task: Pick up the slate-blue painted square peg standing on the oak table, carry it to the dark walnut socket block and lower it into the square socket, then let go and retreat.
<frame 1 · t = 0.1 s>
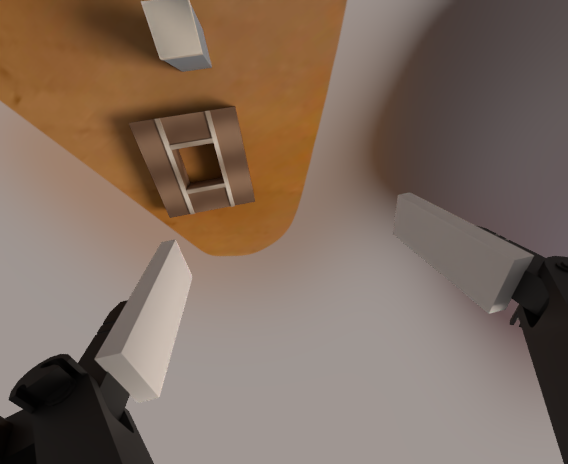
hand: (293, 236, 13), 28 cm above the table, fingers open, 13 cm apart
socket block: (202, 162, 37), on the table
peg: (192, 51, 30), on the table
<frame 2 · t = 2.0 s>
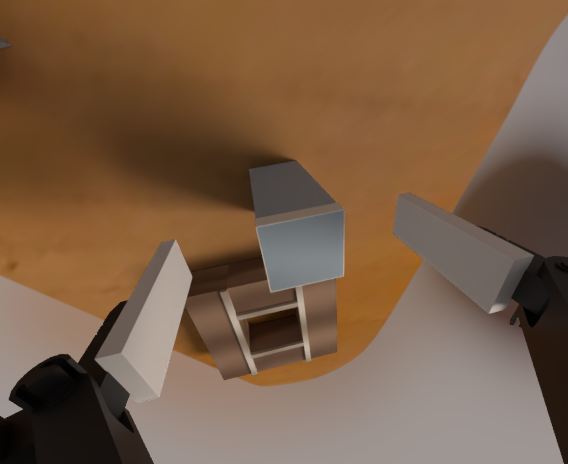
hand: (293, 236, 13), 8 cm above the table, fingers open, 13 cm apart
socket block: (269, 304, 27), on the table
peg: (276, 187, 20), on the table
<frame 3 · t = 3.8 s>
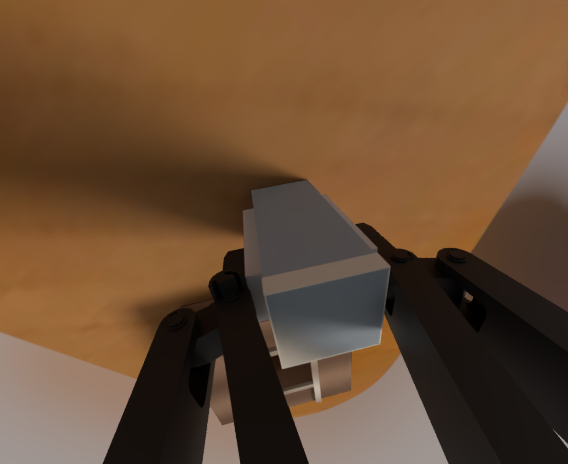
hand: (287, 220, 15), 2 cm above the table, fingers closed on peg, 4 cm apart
socket block: (273, 337, 23), on the table
peg: (283, 210, 17), on the table, touching gripper
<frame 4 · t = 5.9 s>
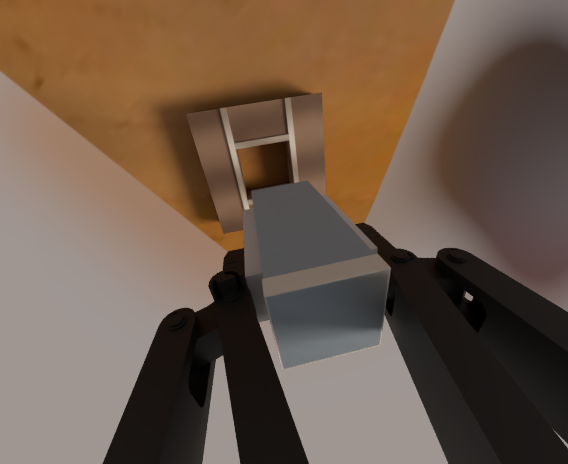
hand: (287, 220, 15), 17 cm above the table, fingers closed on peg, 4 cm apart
socket block: (264, 164, 29), on the table
peg: (283, 211, 17), point 15 cm above the table, touching gripper
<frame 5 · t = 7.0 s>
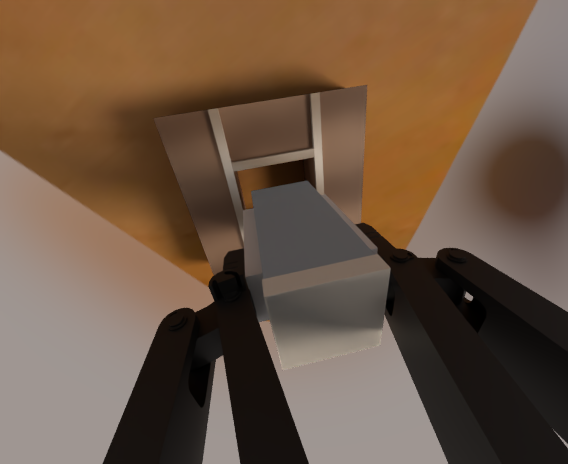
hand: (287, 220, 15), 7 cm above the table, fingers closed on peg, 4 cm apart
socket block: (274, 187, 21), on the table
peg: (283, 211, 17), point 5 cm above the table, touching gripper
when the fingers open (4 cm above the table, at t = 8.1 s): peg drops 2 cm, resting in socket block.
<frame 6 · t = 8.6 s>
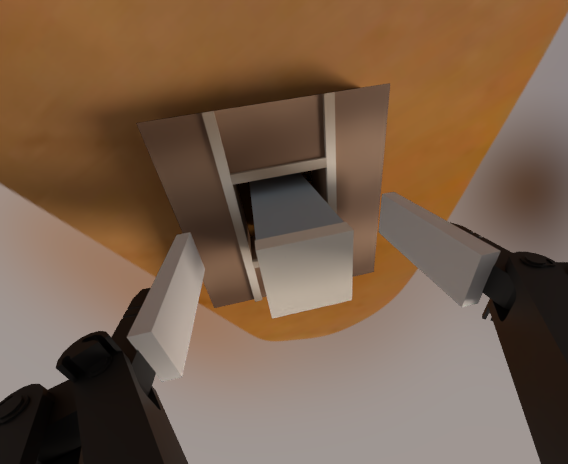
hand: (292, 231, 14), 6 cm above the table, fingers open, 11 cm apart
socket block: (278, 199, 19), on the table
peg: (277, 199, 19), resting in socket block
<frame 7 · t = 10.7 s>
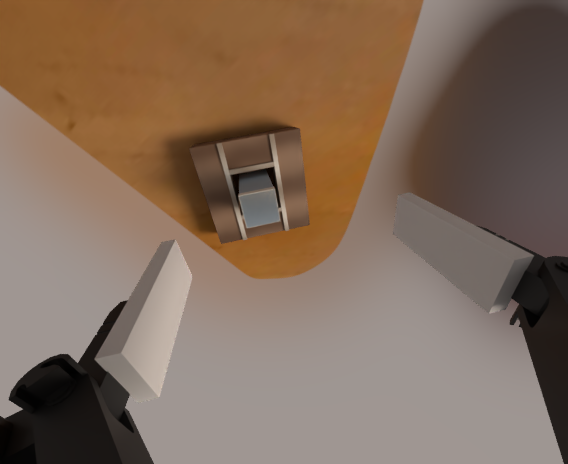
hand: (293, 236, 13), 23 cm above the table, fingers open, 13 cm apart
socket block: (255, 184, 35), on the table
peg: (255, 184, 35), resting in socket block
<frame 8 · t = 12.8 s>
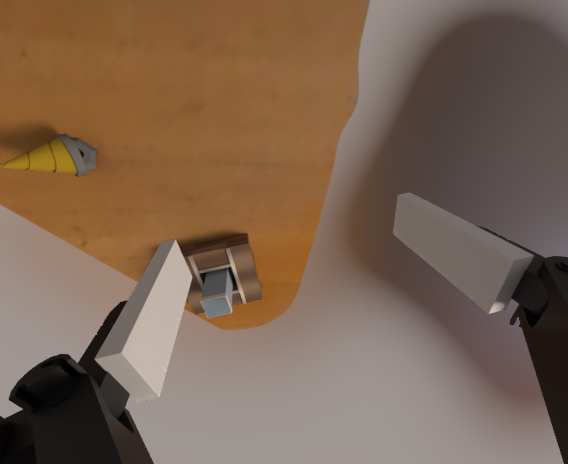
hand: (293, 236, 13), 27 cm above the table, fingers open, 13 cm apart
socket block: (221, 269, 46), on the table
peg: (220, 269, 46), resting in socket block
drill bit: (76, 156, 32), on the table
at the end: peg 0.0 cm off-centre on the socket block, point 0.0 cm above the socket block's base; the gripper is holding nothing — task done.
